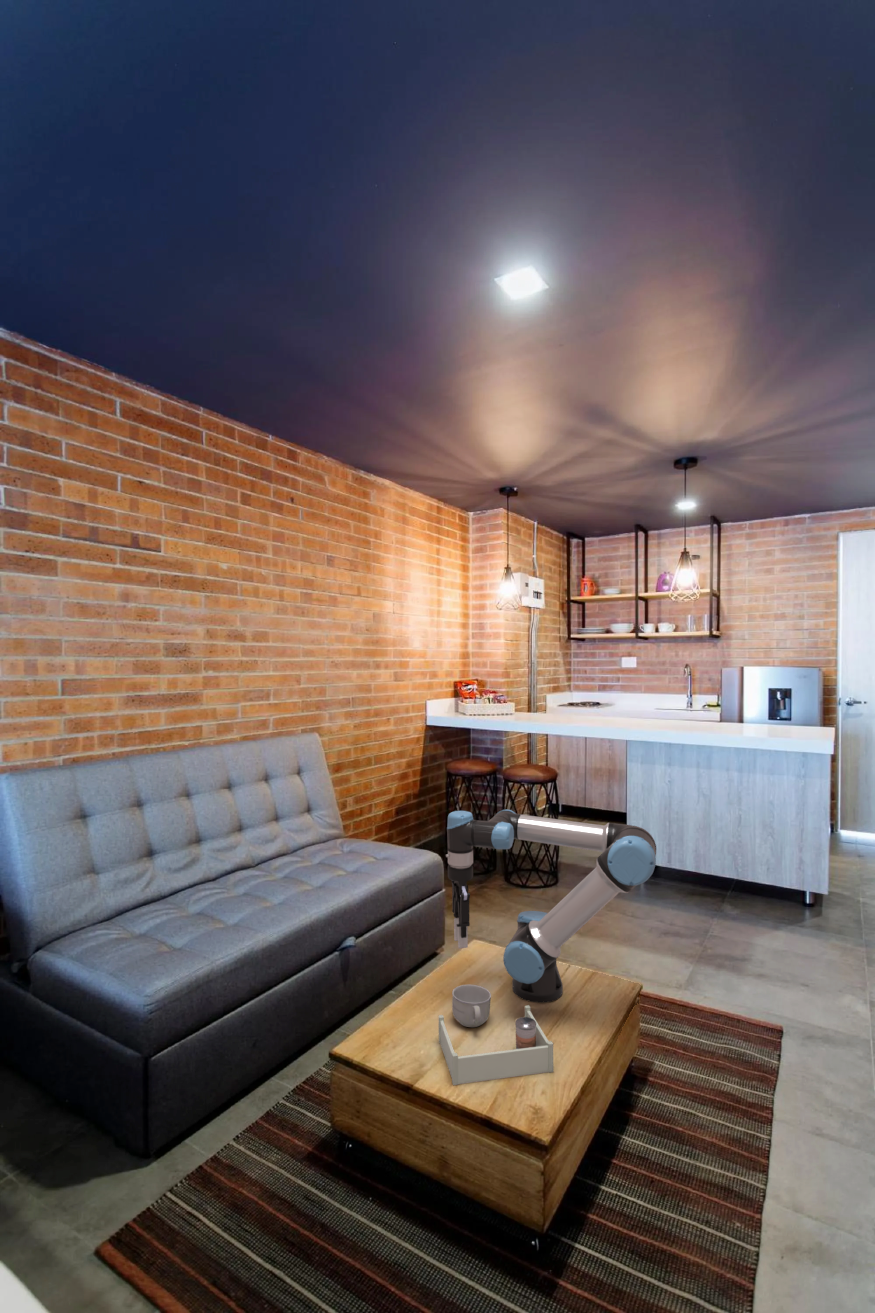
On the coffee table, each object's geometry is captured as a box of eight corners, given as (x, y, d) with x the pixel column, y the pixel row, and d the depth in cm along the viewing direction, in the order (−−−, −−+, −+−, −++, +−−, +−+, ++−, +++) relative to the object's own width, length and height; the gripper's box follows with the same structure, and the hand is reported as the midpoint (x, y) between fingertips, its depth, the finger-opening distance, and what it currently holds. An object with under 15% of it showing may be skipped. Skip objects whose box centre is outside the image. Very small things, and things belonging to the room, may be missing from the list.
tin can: (532, 1047, 166) (532, 1016, 166) (539, 1059, 161) (538, 1027, 161) (513, 1050, 165) (512, 1018, 165) (519, 1062, 160) (519, 1029, 160)
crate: (529, 1030, 174) (528, 1005, 174) (553, 1072, 156) (553, 1044, 156) (438, 1041, 169) (438, 1015, 169) (453, 1085, 151) (452, 1056, 151)
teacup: (452, 1010, 184) (452, 982, 184) (490, 1011, 184) (490, 983, 184) (452, 1039, 170) (451, 1009, 170) (492, 1039, 170) (492, 1009, 170)
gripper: (442, 856, 198) (442, 932, 198) (454, 875, 181) (454, 958, 180) (465, 855, 199) (466, 930, 199) (480, 873, 182) (480, 955, 182)
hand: (460, 943), depth 190 cm, fingers open, 4 cm apart
